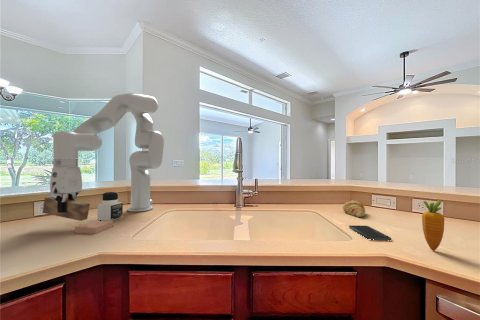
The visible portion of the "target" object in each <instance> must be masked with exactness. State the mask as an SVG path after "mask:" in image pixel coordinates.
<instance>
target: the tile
mask: <svg viewBox="0 0 480 320" xmlns="http://www.w3.org/2000/svg"><path fill="white" fill-rule="evenodd" d="M113 224H114V220H113V221H100V220H91V221H88V222H86V223H82V224H80V225H77V226H75V227H74V234H91V235H95V234H96V235H97V234H99V233H101V232H103V230H104V231H105V230H108V229H110V228H112V227H114V225H113Z"/></svg>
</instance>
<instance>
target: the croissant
mask: <svg viewBox="0 0 480 320" xmlns="http://www.w3.org/2000/svg"><path fill="white" fill-rule="evenodd" d="M342 210H343V211H344V212H345V214H347V213H348V214H349V215H350V214H351V216H353V217H358V218H361V217H365V215H366V208H365V205H363V203H361V202H360V201H358V200H355V199H352V200H349V201H346V202H345V203H343V206H342Z"/></svg>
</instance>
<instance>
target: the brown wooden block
mask: <svg viewBox="0 0 480 320" xmlns="http://www.w3.org/2000/svg"><path fill="white" fill-rule="evenodd" d="M65 202H67V212H65V213H59V212H58V206H57V202H56V200H55V199H54V198H51V197H49V196H46V197H44V200H43V207H42V212H41V213H42V214H45V215H46V214H47V215H51V216H56V217H61V218H66V219H70V220H75V221H79V222H82V221H85V220H88V216H89V210H90V203H89V202H88V203H87V202H83V201H79V200H75V201H74V200H69V199H67V198H65Z"/></svg>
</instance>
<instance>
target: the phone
mask: <svg viewBox="0 0 480 320" xmlns="http://www.w3.org/2000/svg"><path fill="white" fill-rule="evenodd" d="M348 229H350V230H351V231H353V232H355V233H356V232H357V233H356V234H358V235H359V234H360V236H361V235H362V236H361V237H363V236H364V237H365V238H364V237H363V238H364V239H366V238H367V239H371V240H373V239H374V240H391V241H392V237H391V236H388V235H387V234H385V233H383V232H381V231H379V230H377V229H375V228H373V227H371V226H369V225H348ZM367 239H366V240H367Z"/></svg>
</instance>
